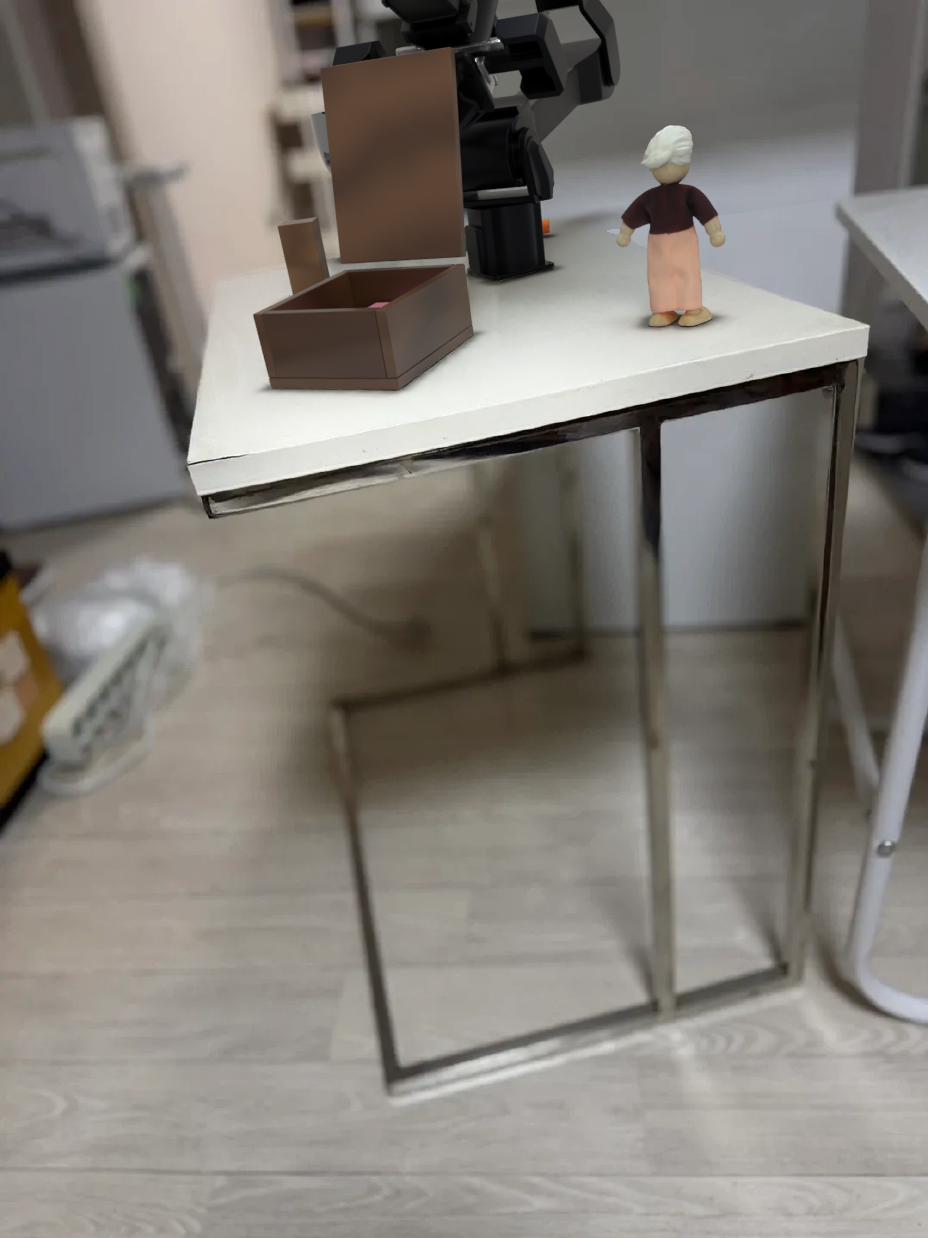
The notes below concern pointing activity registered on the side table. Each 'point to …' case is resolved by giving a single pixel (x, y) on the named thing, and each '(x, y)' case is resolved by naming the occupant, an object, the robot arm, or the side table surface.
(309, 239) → the stand
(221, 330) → the side table surface
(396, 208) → the lid
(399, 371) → the chest
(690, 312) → the grandmother figurine
